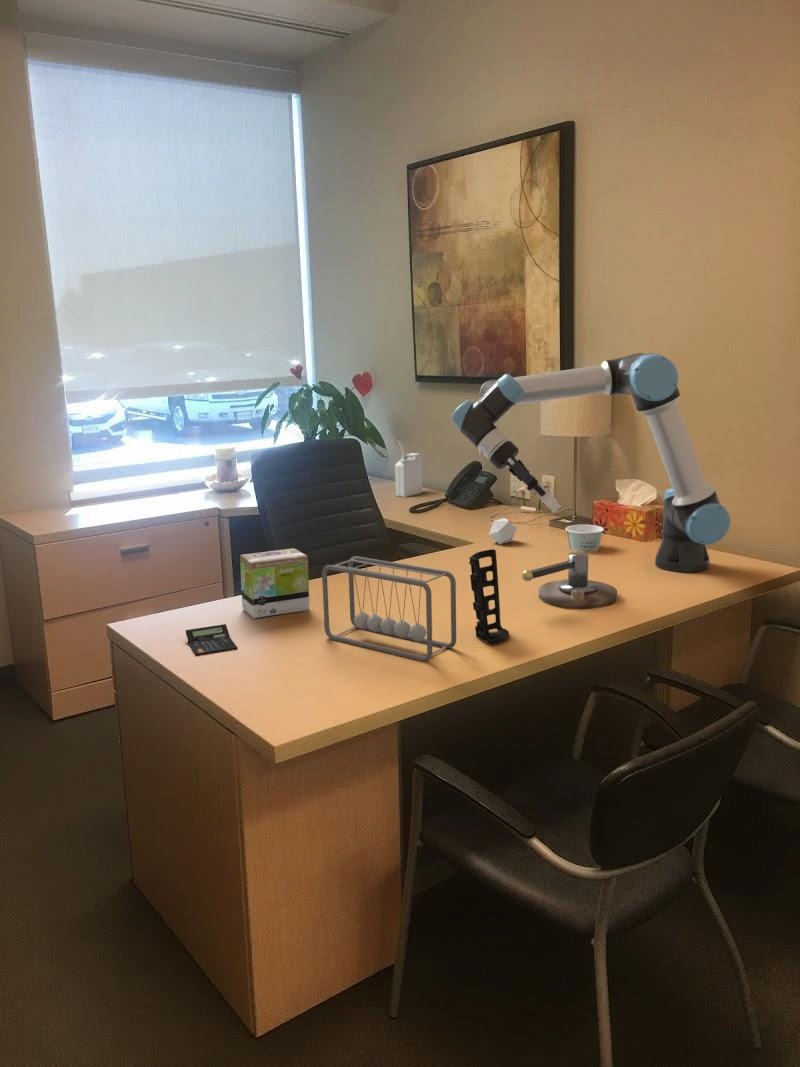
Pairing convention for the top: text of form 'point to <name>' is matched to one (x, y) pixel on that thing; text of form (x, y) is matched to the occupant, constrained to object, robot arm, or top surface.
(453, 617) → the newton's cradle
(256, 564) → the tea box
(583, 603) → the dial base
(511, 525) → the die
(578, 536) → the food container
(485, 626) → the holder
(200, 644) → the calculator
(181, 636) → the top surface
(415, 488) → the gas can
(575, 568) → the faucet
